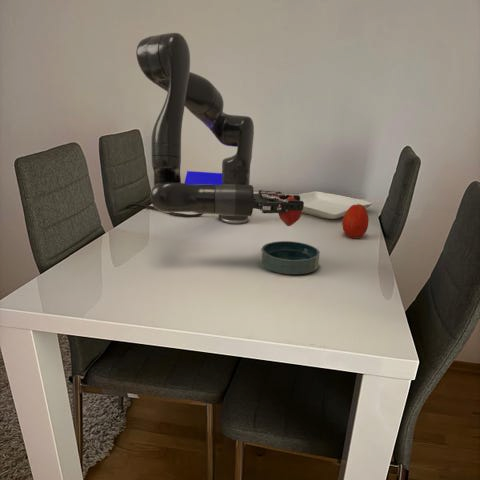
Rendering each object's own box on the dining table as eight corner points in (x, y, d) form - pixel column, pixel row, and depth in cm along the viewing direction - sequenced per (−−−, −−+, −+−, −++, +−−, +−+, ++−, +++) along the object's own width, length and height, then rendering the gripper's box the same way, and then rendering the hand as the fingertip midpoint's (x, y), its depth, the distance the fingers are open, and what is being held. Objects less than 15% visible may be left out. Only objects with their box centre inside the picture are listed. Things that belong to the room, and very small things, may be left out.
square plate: (372, 211, 175) (374, 201, 173) (334, 224, 157) (335, 213, 155) (314, 198, 191) (315, 189, 189) (273, 209, 173) (274, 198, 171)
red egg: (349, 230, 151) (354, 198, 146) (371, 236, 146) (377, 203, 141) (335, 235, 146) (340, 202, 141) (357, 242, 141) (363, 207, 136)
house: (235, 209, 171) (236, 177, 165) (183, 205, 173) (183, 173, 168) (240, 201, 181) (241, 171, 176) (191, 198, 183) (191, 168, 178)
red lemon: (275, 222, 118) (278, 191, 114) (297, 222, 118) (300, 191, 115) (279, 229, 113) (282, 196, 109) (301, 229, 113) (305, 197, 109)
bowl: (250, 267, 119) (251, 252, 117) (276, 251, 130) (277, 237, 128) (304, 281, 112) (305, 265, 110) (326, 263, 124) (328, 248, 122)
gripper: (234, 191, 104) (308, 194, 105) (233, 178, 116) (298, 181, 117) (233, 223, 107) (304, 225, 108) (232, 208, 120) (295, 210, 121)
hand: (301, 202), depth 113 cm, fingers closed on red lemon, 5 cm apart
